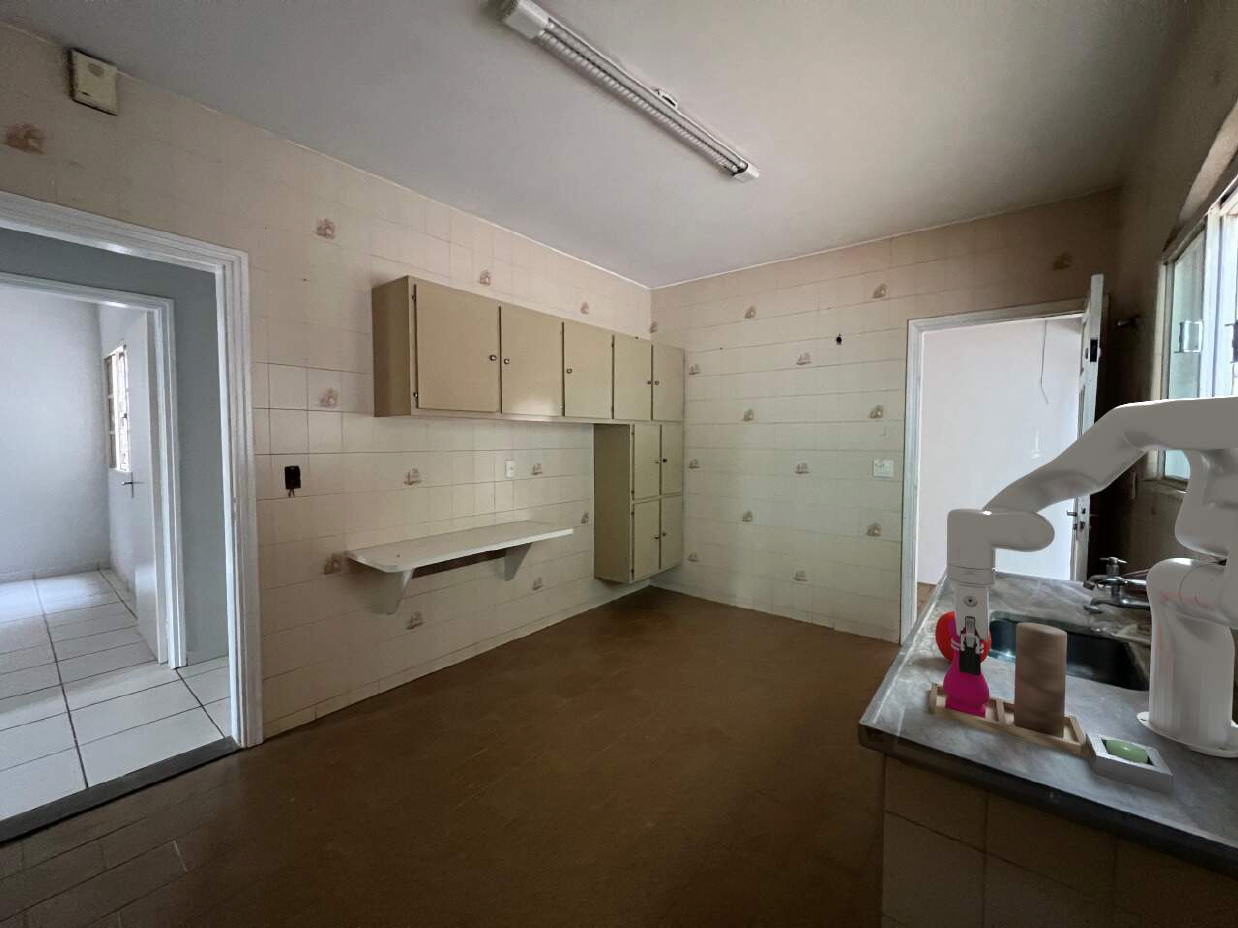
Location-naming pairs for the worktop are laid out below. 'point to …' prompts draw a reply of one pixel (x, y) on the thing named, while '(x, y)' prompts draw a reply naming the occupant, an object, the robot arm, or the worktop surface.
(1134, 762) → the button box
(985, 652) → the tomato
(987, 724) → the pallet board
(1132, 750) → the button
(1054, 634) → the seated billet
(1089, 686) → the worktop surface
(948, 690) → the pepper mill
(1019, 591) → the worktop surface
